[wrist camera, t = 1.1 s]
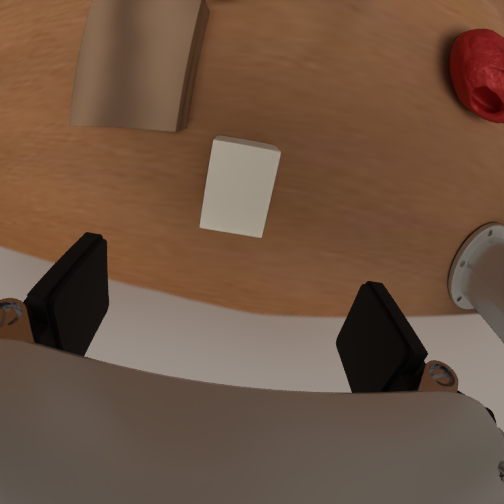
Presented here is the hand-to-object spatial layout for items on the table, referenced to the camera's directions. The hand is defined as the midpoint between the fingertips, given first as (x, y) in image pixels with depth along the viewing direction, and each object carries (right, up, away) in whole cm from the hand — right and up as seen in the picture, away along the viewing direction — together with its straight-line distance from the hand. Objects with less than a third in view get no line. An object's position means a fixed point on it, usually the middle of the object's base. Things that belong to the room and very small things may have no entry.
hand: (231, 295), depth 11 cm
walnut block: (-8, +18, +11) cm, 23 cm away
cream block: (0, +8, +16) cm, 18 cm away
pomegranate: (+24, +20, +11) cm, 33 cm away
